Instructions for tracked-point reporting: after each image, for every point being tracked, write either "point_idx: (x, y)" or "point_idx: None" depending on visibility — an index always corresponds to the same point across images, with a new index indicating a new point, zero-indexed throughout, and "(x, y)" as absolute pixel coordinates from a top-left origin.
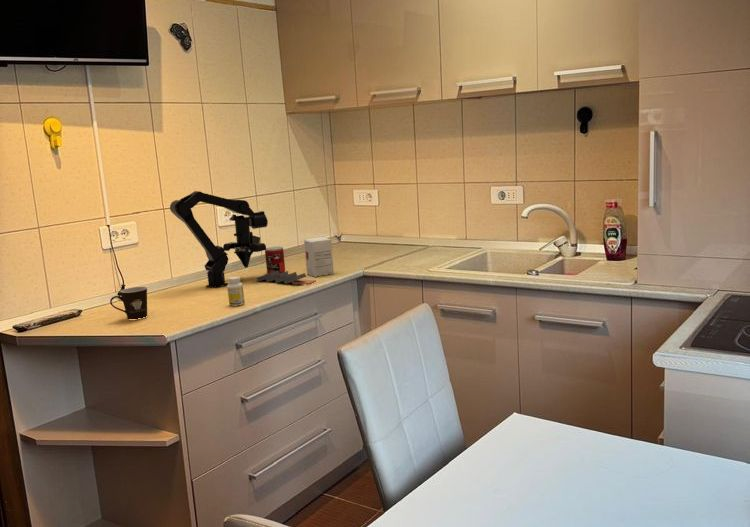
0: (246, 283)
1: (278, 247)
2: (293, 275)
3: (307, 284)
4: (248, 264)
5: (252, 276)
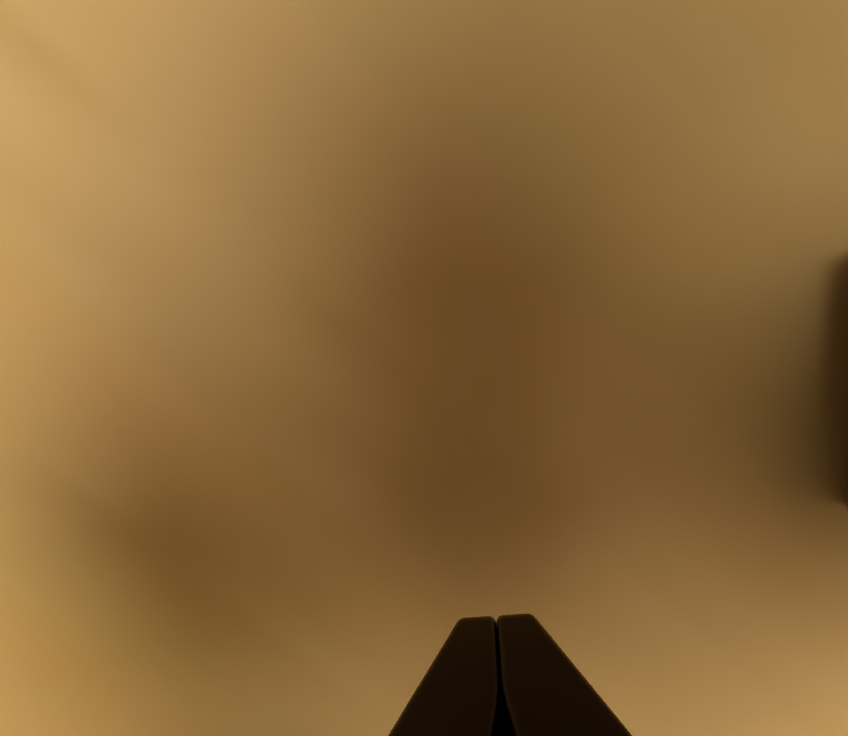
0: (687, 662)
1: None
2: None
3: None
4: (579, 672)
5: (269, 105)
